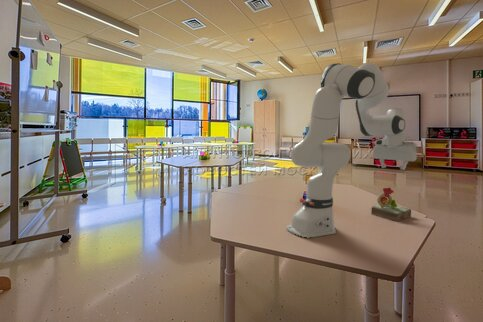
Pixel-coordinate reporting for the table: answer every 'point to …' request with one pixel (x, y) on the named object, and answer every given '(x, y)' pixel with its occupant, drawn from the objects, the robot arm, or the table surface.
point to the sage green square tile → (391, 212)
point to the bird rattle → (384, 200)
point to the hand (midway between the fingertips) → (392, 168)
